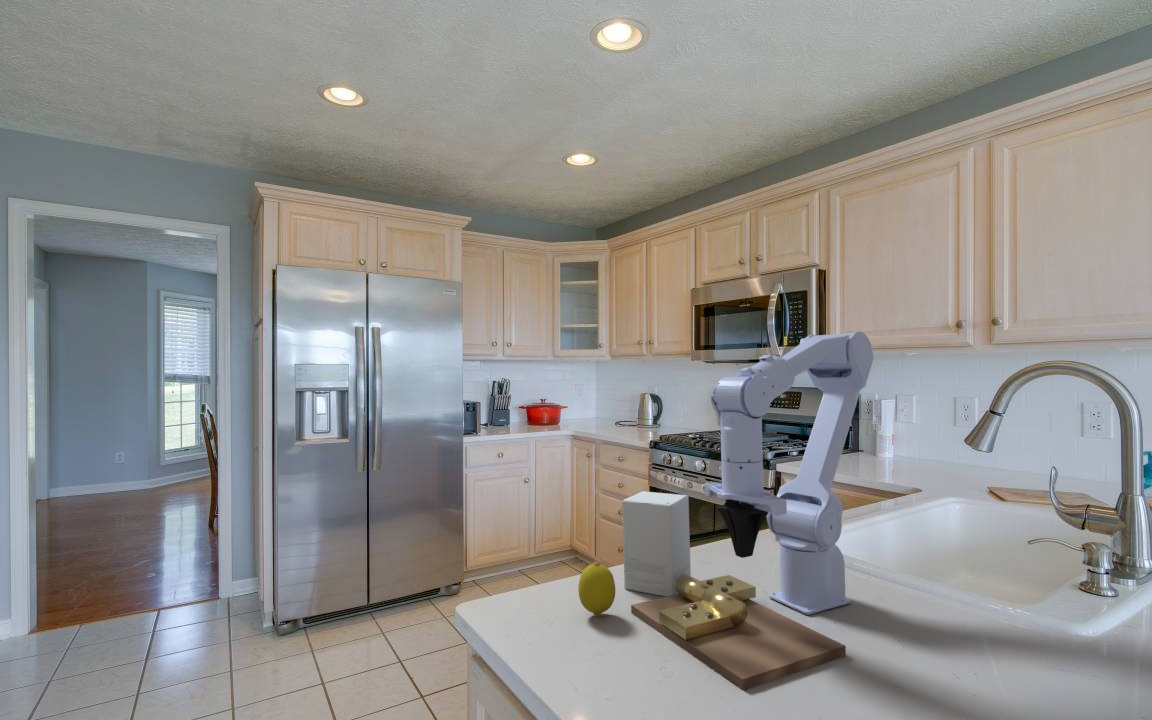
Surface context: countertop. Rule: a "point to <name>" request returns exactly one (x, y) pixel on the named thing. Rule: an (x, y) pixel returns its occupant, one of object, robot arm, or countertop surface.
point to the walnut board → (749, 643)
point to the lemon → (596, 588)
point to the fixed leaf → (725, 584)
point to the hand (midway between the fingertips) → (744, 555)
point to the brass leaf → (704, 615)
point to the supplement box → (655, 542)
